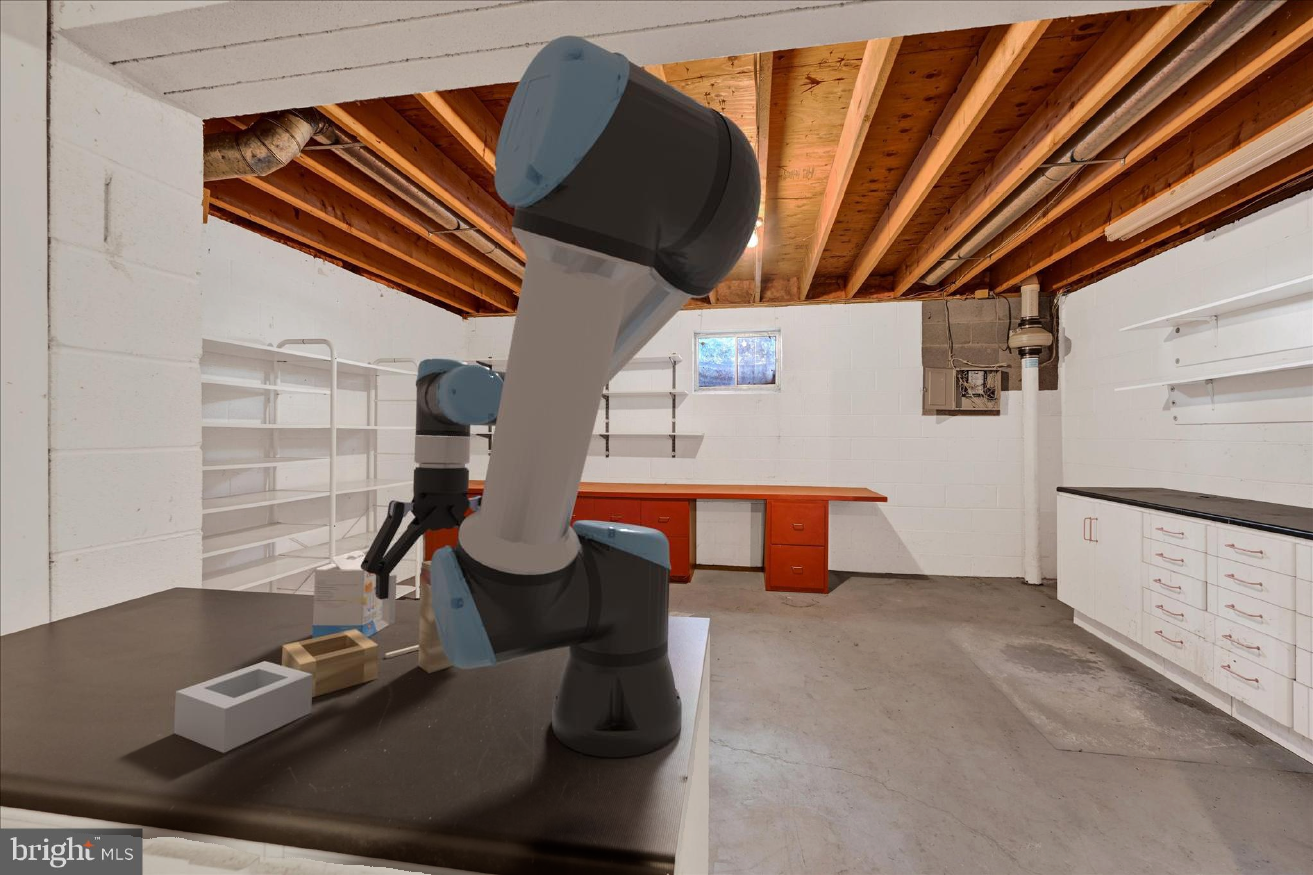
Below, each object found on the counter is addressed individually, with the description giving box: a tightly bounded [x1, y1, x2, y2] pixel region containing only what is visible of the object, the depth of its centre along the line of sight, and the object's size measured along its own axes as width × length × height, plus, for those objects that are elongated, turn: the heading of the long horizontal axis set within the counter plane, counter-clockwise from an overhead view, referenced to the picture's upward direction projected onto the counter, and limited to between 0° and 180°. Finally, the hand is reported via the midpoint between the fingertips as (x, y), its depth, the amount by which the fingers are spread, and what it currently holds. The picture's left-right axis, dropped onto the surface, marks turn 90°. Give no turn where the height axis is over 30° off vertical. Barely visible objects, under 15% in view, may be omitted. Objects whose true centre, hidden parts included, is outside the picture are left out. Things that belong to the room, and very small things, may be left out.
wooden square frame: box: [281, 629, 379, 698], centre depth 70 cm, size 9×9×4 cm
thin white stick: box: [384, 644, 419, 659], centre depth 81 cm, size 1×10×1 cm, turn 138°
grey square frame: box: [173, 660, 313, 754], centre depth 59 cm, size 9×9×4 cm
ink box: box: [311, 549, 390, 639], centre depth 88 cm, size 9×8×13 cm
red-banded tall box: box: [417, 560, 454, 674], centre depth 75 cm, size 4×4×15 cm
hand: (437, 610), depth 75 cm, fingers open, 13 cm apart
